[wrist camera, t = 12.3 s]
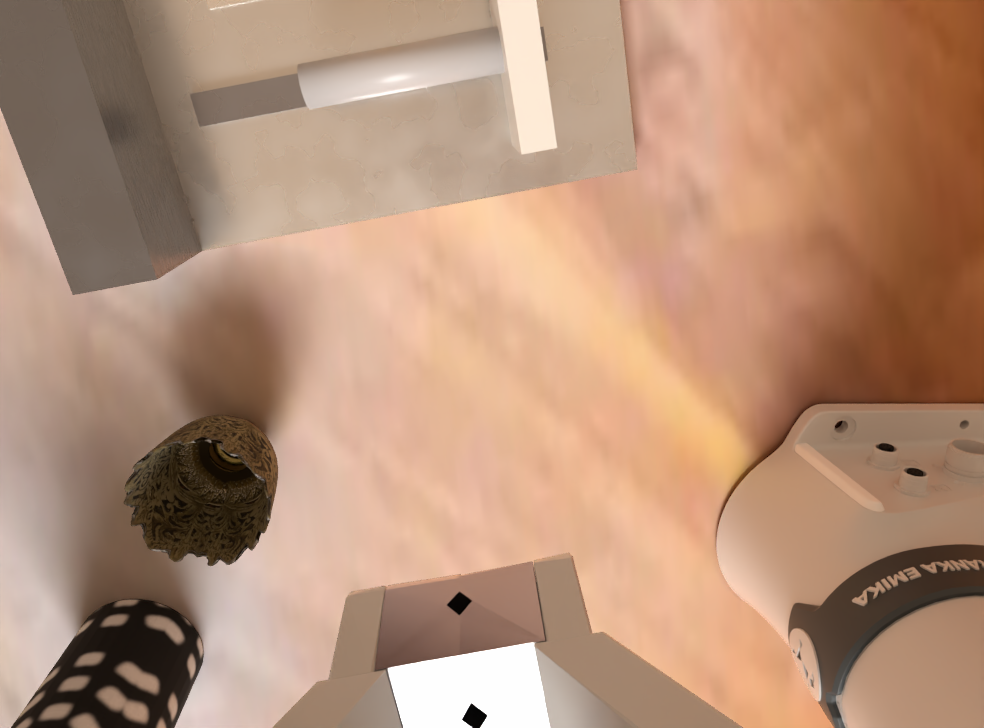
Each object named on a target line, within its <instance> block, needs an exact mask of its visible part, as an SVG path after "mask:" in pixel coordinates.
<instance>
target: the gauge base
mask: <svg viewBox="0 0 984 728" xmlns="http://www.w3.org/2000/svg"><path fill="white" fill-rule="evenodd" d="M536 1H537V8H538V16H539V23H540V30H541V37H542V44H543V51H544V58H545V65H546V72H547V79H548V86H549V93H550V100H551V107H552V114H553V122H554V129H555V136H556V143H557V148H554V149H549V150H544V151H538V152H533V153H528V154H522V155H521V154H520V153H519V152H518V151H517V150H516V149H515V148H514V147H513V146H512V141H511V135H510V129H509V123H508V116H507V110H506V104H505V98H504V92H503V86H502V79H501V73H499V74H494V75H489V76H483V77H478V78H473V79H468V80H462V81H457V82H452V83H447V84H441V85H436V86H431V87H426V88H420V89H415V90H410V91H405V92H399V93H394V94H389V95H384V96H378V97H373V98H368V99H362V100H357V101H352V102H347V103H341V104H336V105H331V106H326V107H320V108H315V109H309V108H308V107H307V105H306V103H305V101H304V98H303V95H302V92H301V88H300V84H299V79H298V72H297V66H298V64H301V63H306V62H312V61H317V60H322V59H327V58H332V57H338V56H343V55H348V54H353V53H359V52H364V51H369V50H374V49H380V48H385V47H390V46H395V45H400V44H406V43H411V42H416V41H421V40H427V39H432V38H437V37H442V36H447V35H453V34H458V33H463V32H468V31H474V30H479V29H484V28H489V27H493V24H492V18H491V11H490V5H489V0H0V108H1V111H2V113H3V116H4V118H5V121H6V123H7V126H8V129H9V131H10V134H11V136H12V139H13V141H14V144H15V147H16V149H17V152H18V154H19V157H20V160H21V162H22V165H23V167H24V170H25V172H26V175H27V178H28V180H29V183H30V185H31V188H32V190H33V193H34V196H35V198H36V201H37V203H38V206H39V208H40V211H41V214H42V216H43V219H44V221H45V224H46V227H47V229H48V232H49V234H50V237H51V239H52V242H53V245H54V247H55V250H56V252H57V255H58V257H59V260H60V263H61V265H62V268H63V270H64V273H65V276H66V278H67V281H68V283H69V286H70V288H71V291H72V294H73V295H75V294H80V293H86V292H91V291H97V290H102V289H107V288H113V287H118V286H123V285H129V284H134V283H139V282H145V281H150V280H156V279H158V278H160V277H161V276H163V275H165V274H166V273H168V272H169V271H171V270H173V269H174V268H176V267H177V266H179V265H180V264H182V263H184V262H185V261H187V260H188V259H190V258H192V257H193V256H195V255H196V254H198V253H200V252H201V251H204V250H209V249H215V248H220V247H225V246H231V245H236V244H241V243H247V242H252V241H257V240H263V239H268V238H273V237H279V236H284V235H290V234H295V233H300V232H306V231H311V230H316V229H322V228H327V227H332V226H338V225H343V224H348V223H354V222H359V221H364V220H370V219H375V218H380V217H386V216H391V215H397V214H402V213H407V212H413V211H418V210H423V209H429V208H434V207H439V206H445V205H450V204H455V203H461V202H466V201H471V200H477V199H482V198H487V197H493V196H498V195H504V194H509V193H514V192H520V191H525V190H530V189H536V188H541V187H546V186H552V185H557V184H562V183H568V182H573V181H578V180H584V179H589V178H594V177H600V176H605V175H611V174H616V173H621V172H627V171H632V170H637V160H636V151H635V141H634V132H633V122H632V113H631V104H630V94H629V85H628V75H627V66H626V56H625V47H624V38H623V28H622V19H621V9H620V0H536Z"/></svg>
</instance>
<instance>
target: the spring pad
mask: <svg viewBox="0 0 984 728" xmlns="http://www.w3.org/2000/svg"><path fill="white" fill-rule="evenodd" d="M489 5H490V11H491V18H492V24H493V27H489V28H484V29H479V30H474V31H468V32H463V33H458V34H453V35H447V36H442V37H437V38H432V39H427V40H421V41H416V42H411V43H406V44H400V45H395V46H390V47H385V48H380V49H374V50H369V51H364V52H359V53H353V54H348V55H343V56H338V57H332V58H327V59H322V60H317V61H312V62H306V63H301V64H298V66H297V72H298V79H299V84H300V88H301V92H302V95H303V98H304V101H305V103H306V105H307V107H308V108H309V109H315V108H320V107H326V106H331V105H336V104H341V103H347V102H352V101H357V100H362V99H368V98H373V97H378V96H384V95H389V94H394V93H399V92H405V91H410V90H415V89H420V88H426V87H431V86H436V85H441V84H447V83H452V82H457V81H462V80H468V79H473V78H478V77H483V76H489V75H494V74H499V73H501V79H502V86H503V92H504V98H505V104H506V110H507V116H508V123H509V129H510V135H511V141H512V146H513V147H514V148H515V149H516V150H517V151H518V152H519V153H520V154H521V155H522V154H528V153H533V152H538V151H544V150H549V149H554V148H557V143H556V136H555V129H554V122H553V114H552V107H551V100H550V93H549V86H548V79H547V72H546V65H545V58H544V51H543V44H542V37H541V30H540V23H539V16H538V8H537V1H536V0H489Z"/></svg>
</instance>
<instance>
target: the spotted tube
mask: <svg viewBox="0 0 984 728" xmlns="http://www.w3.org/2000/svg"><path fill="white" fill-rule="evenodd" d="M203 655H204V654H203V645H202V642H201V640H200V637H199V635H198V633H197V632H196V630H195V628H194V627H193V626H192V625H191V624H190V622H189V621H188V620H187V619H186V618H184V617H183V616H182V615H180V614H179V613H178V612H176V611H175V610H173V609H171V608H169V607H167V606H165V605H161V604H158V603H155V602H152V601H145V600H122V601H116V602H113V603H110V604H107V605H105V606H103V607H101V608H100V609H98V610H96V611H95V612H94V613H93V614H92V615H90V616H89V617H88V618H87V620H86V621H85V623H84V624H83V626H82V627H81V628H80V630H79V631H78V633H77V634H76V636H75V637H74V638H73V640H72V641H71V643H70V644H69V646H68V647H67V649H66V650H65V651H64V653H63V654H62V656H61V657H60V659H59V660H58V661H57V663H56V664H55V666H54V667H53V669H52V670H51V671H50V673H49V674H48V676H47V677H46V679H45V680H44V681H43V683H42V684H41V686H40V687H39V689H38V690H37V691H36V693H35V694H34V696H33V697H32V699H31V700H30V701H29V703H28V704H27V706H26V707H25V709H24V710H23V711H22V713H21V714H20V716H19V717H18V719H17V720H16V721H15V723H14V724H13V726H12V727H11V728H174V727H175V725H176V722H177V720H178V718H179V716H180V713H181V711H182V709H183V707H184V704H185V702H186V700H187V698H188V695H189V693H190V691H191V689H192V686H193V684H194V682H195V680H196V677H197V675H198V673H199V671H200V668H201V666H202V662H203Z"/></svg>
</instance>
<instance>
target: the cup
mask: <svg viewBox="0 0 984 728" xmlns="http://www.w3.org/2000/svg"><path fill="white" fill-rule="evenodd" d="M132 469H134V471H135V472H134V473H133V474H132V475H131V476H130V478H129V479H128V481H127V483H126V485H125V491H127V493H126V494H127V496H126V499H125V501H124V504H125V505H127V506H130V507H135V510H134V513H133V514H132V521H131V526H137V525H141V527H142V529H143V538H144V540H145V542H146V544H147V547H148V548H149V549H150V550H152V551H161V552H165V553H168V556H169V558H170V559H171V560H173V561H174V562H178V561H181V560H182V559H183V557H184V556H186V555H187V554H189V553H190V554H194V555H195V556H196V557H202V556H204V557H205V556H206V557H207V559H208V566H213V565H215V564H216V563H217V562H218V561H219V560H220V559H221V560H222V561H223V562H224V563H226V565H230V564H232V563H234V562H235V561H236V560H237V559H238V558H239V557H240V556H241V555H242V554H243V552H244V551H245V550H246V549H247V548H249V549H250V550H251V551H252V550H253V549H254V548H255V546H256V545H257V543H258V542H259V537H260V535H261V533H265V531H266V529H267V526H268V523H269V521H270V520H269V519H270V517H271V510H272V506H273V502H274V497H275V492H276V487H277V480H278V465H277V458H276V454H275V452H274V449H273V447H272V445H271V443H270V441H269V440H268V438H267V437H266V436H265V435H264V434H263V433H262V432H261V431H260V430H259V429H258V427H257V426H255V425H254V424H253V423H251V422H250V421H248V420H245V419H241V418H236V417H232V416H223V415H219V416H208V417H204V418H201V419H198V420H195V421H193V422H191V423H189V424H187V425H185V426H183V427H182V428H180V429H179V430H177V431H176V432H174V433H173V434H172V435H170V436H169V437H168V438H167V439H165V440H164V441H163V442H162V443H160V444H159V445H158V446H157V447H156V448H154V449H153V450H152V451H150V452H149V453H148V454H147V455H146V456H145V457H144V458H143V459H141V460H140V461H138V462H137V463H136V464H135V466H134V467H133V468H132Z"/></svg>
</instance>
